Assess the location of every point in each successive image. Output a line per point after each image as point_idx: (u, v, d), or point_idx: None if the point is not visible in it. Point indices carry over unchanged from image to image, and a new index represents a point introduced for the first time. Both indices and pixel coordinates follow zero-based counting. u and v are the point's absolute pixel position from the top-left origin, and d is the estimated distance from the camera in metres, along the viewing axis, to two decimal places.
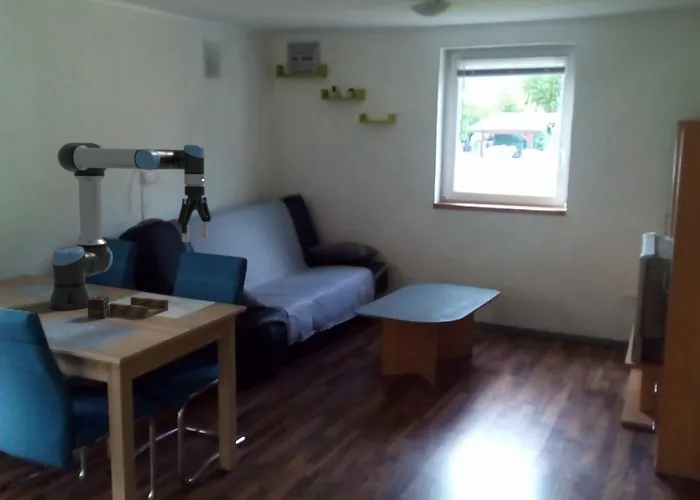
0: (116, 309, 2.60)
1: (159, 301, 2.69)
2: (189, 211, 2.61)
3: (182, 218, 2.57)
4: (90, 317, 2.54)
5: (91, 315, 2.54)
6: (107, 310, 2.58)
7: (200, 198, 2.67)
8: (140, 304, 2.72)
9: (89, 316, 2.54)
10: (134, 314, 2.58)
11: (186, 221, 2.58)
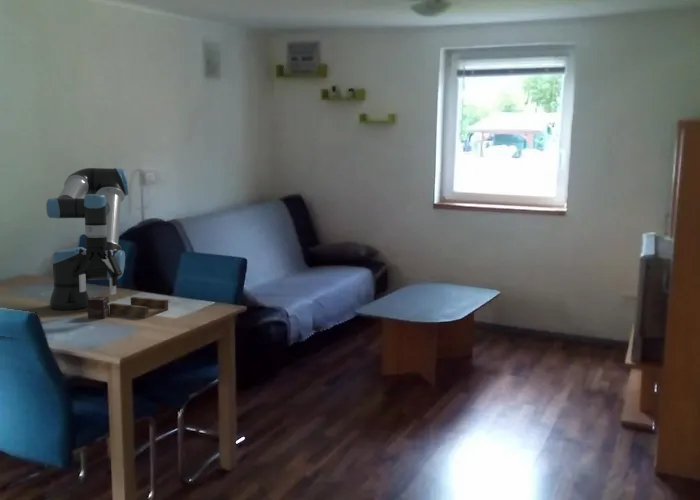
0: (116, 309, 2.60)
1: (159, 301, 2.69)
2: None
3: None
4: (90, 317, 2.54)
5: (91, 315, 2.54)
6: (107, 310, 2.58)
7: (100, 250, 2.52)
8: (140, 304, 2.72)
9: (89, 316, 2.54)
10: (134, 314, 2.58)
11: (77, 270, 2.56)
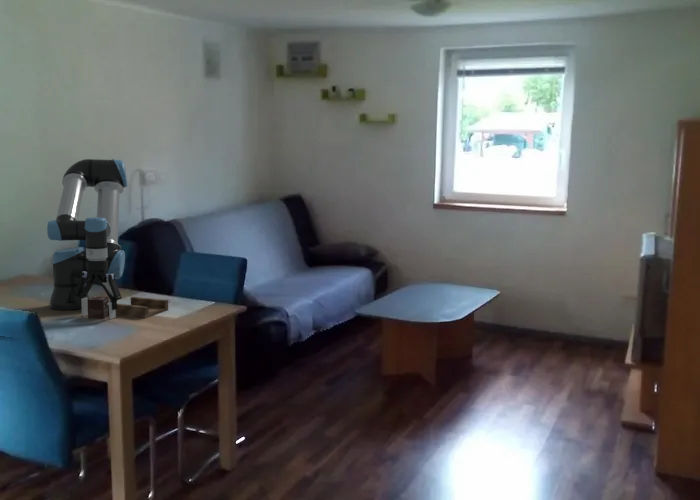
0: (116, 309, 2.60)
1: (159, 301, 2.69)
2: None
3: None
4: (90, 317, 2.54)
5: (91, 315, 2.54)
6: (107, 310, 2.58)
7: (101, 273, 2.53)
8: (140, 304, 2.72)
9: (89, 316, 2.54)
10: (134, 314, 2.58)
11: (79, 294, 2.57)
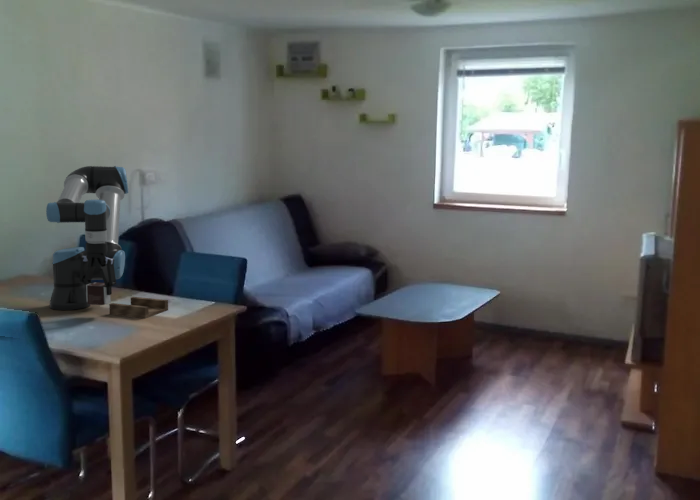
0: (116, 309, 2.60)
1: (159, 301, 2.69)
2: None
3: None
4: (90, 303, 2.54)
5: (90, 301, 2.54)
6: None
7: (100, 256, 2.52)
8: (140, 304, 2.72)
9: (89, 302, 2.54)
10: (134, 314, 2.58)
11: (84, 280, 2.56)
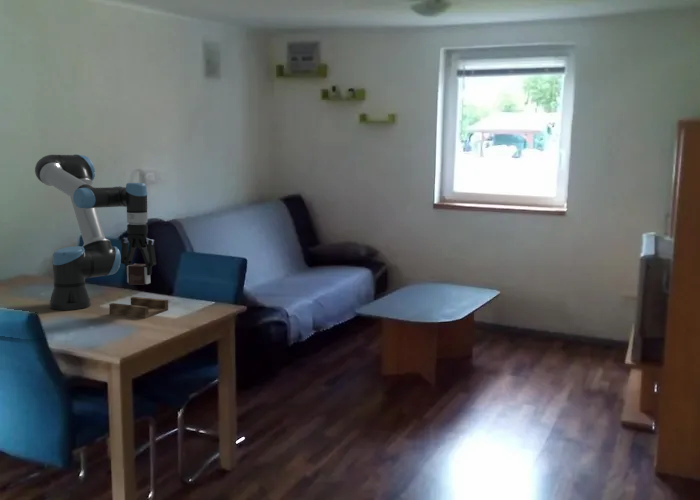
0: (116, 309, 2.60)
1: (159, 301, 2.69)
2: None
3: None
4: (131, 283, 2.61)
5: (131, 281, 2.61)
6: None
7: (141, 237, 2.60)
8: (140, 304, 2.72)
9: (130, 282, 2.61)
10: (134, 314, 2.58)
11: (124, 262, 2.64)
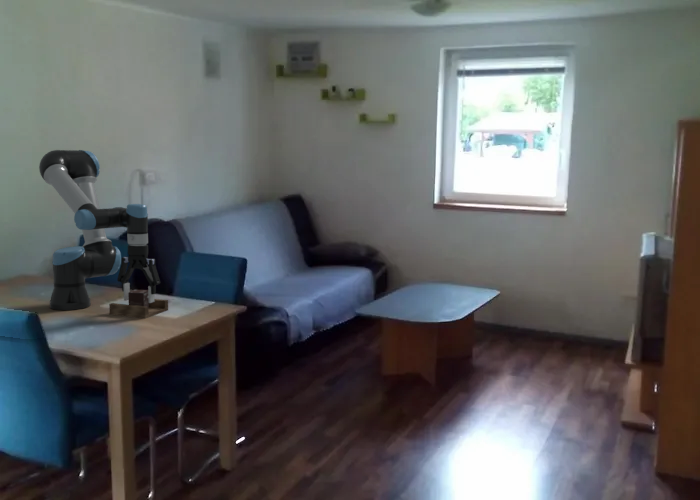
0: (116, 309, 2.60)
1: (159, 301, 2.69)
2: None
3: None
4: None
5: None
6: (147, 303, 2.66)
7: (142, 258, 2.61)
8: None
9: None
10: (134, 314, 2.58)
11: (121, 280, 2.65)
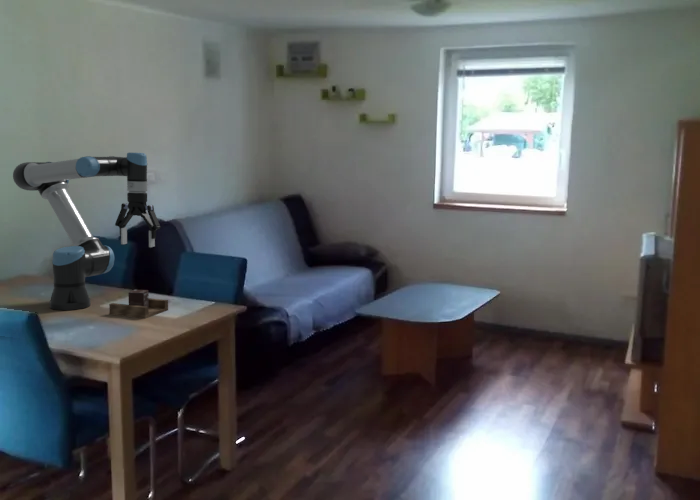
0: (116, 309, 2.60)
1: (159, 301, 2.69)
2: None
3: None
4: None
5: None
6: (147, 303, 2.66)
7: (140, 205, 2.69)
8: None
9: None
10: (134, 314, 2.58)
11: (119, 224, 2.74)
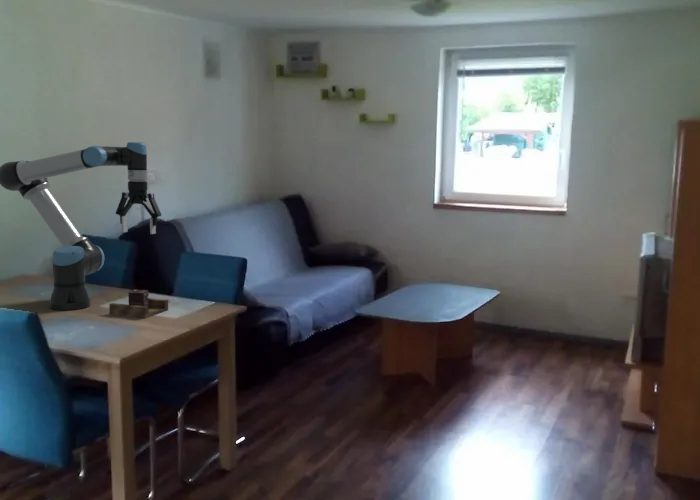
0: (116, 309, 2.60)
1: (159, 301, 2.69)
2: None
3: None
4: None
5: None
6: (147, 303, 2.66)
7: (141, 193, 2.77)
8: None
9: None
10: (134, 314, 2.58)
11: (120, 212, 2.81)
